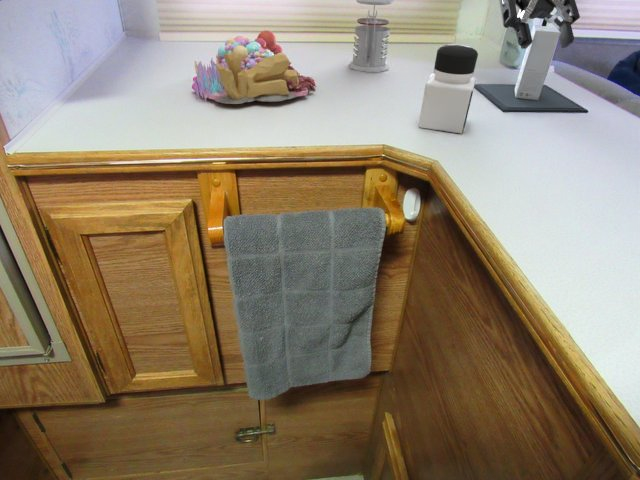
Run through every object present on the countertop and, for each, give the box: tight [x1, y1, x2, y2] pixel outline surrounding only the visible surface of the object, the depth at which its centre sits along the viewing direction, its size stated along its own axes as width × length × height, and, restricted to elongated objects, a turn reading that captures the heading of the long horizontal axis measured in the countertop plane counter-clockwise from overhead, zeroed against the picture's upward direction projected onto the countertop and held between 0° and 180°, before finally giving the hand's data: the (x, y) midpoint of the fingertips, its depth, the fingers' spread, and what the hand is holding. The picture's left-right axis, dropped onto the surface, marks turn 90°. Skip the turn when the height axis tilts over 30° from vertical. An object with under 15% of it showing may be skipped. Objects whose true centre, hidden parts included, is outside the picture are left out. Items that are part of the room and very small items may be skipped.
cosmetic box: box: [515, 24, 561, 100], centre depth 80 cm, size 6×4×12 cm
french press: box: [348, 0, 395, 73], centre depth 92 cm, size 10×12×25 cm
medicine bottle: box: [418, 44, 479, 135], centre depth 67 cm, size 7×7×12 cm
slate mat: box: [474, 83, 589, 114], centre depth 83 cm, size 16×16×1 cm
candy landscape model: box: [191, 29, 317, 105], centre depth 81 cm, size 25×24×9 cm
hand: (547, 45), depth 77 cm, fingers open, 8 cm apart
